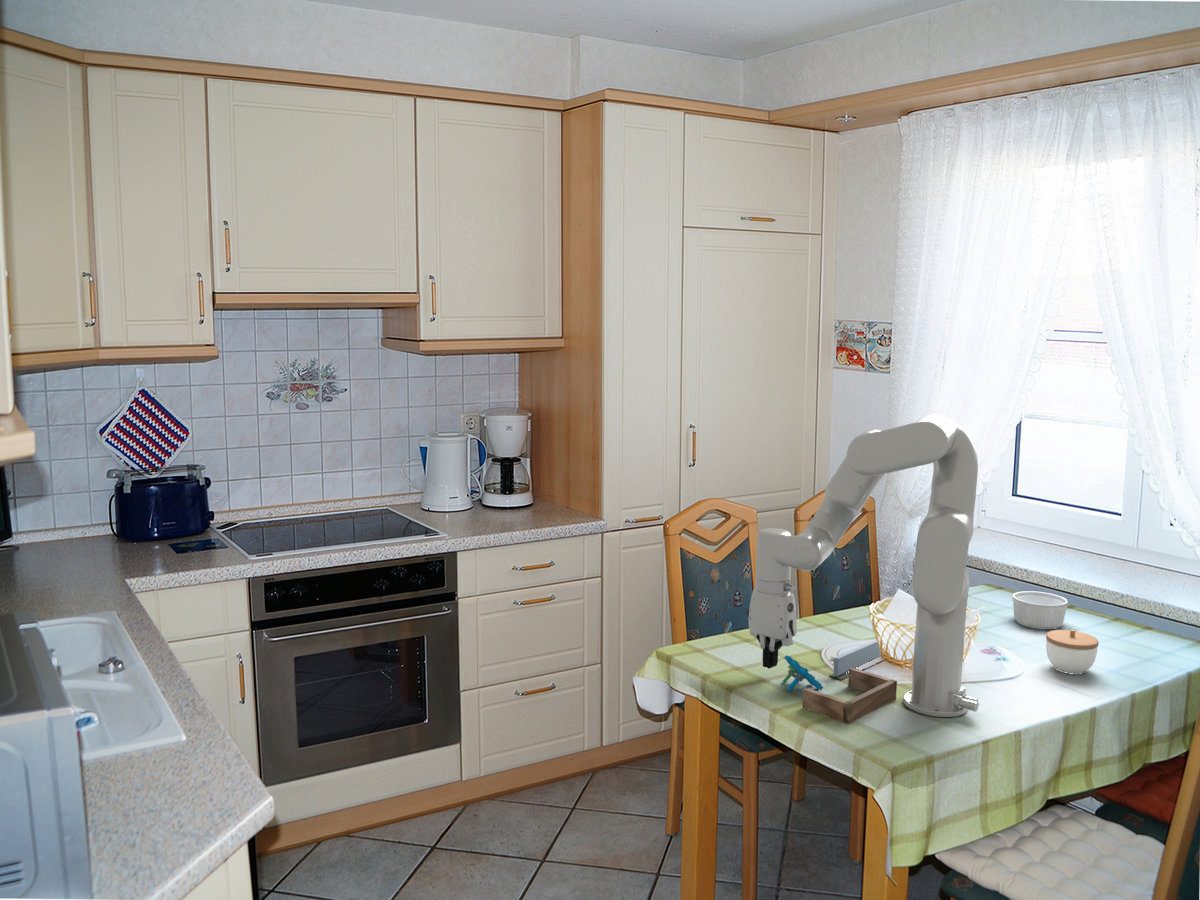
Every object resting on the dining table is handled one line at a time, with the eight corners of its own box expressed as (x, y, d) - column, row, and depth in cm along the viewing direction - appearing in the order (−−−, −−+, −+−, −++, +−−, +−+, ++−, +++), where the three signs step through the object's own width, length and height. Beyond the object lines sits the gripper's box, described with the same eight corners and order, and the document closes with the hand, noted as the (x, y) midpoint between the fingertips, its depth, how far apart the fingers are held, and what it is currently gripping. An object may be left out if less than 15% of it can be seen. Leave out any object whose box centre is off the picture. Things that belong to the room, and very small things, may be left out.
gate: (880, 656, 234) (880, 640, 233) (837, 676, 221) (838, 658, 221) (876, 655, 235) (877, 639, 234) (833, 674, 222) (834, 657, 221)
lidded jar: (1049, 658, 236) (1052, 619, 235) (1099, 668, 230) (1103, 628, 229) (1039, 671, 227) (1042, 631, 226) (1091, 682, 221) (1094, 641, 220)
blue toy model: (832, 690, 211) (799, 658, 209) (813, 711, 210) (780, 679, 209) (811, 678, 222) (780, 647, 220) (793, 698, 221) (762, 667, 220)
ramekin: (1001, 616, 268) (1003, 590, 267) (1048, 615, 269) (1050, 590, 268) (1027, 632, 255) (1029, 605, 254) (1076, 631, 256) (1078, 604, 255)
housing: (941, 675, 224) (942, 658, 224) (848, 724, 198) (849, 704, 197) (874, 656, 236) (875, 640, 235) (778, 699, 210) (778, 681, 209)
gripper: (811, 589, 216) (808, 671, 219) (755, 575, 227) (753, 653, 230) (791, 596, 211) (788, 679, 214) (734, 581, 222) (732, 661, 225)
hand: (769, 666), depth 222 cm, fingers closed
